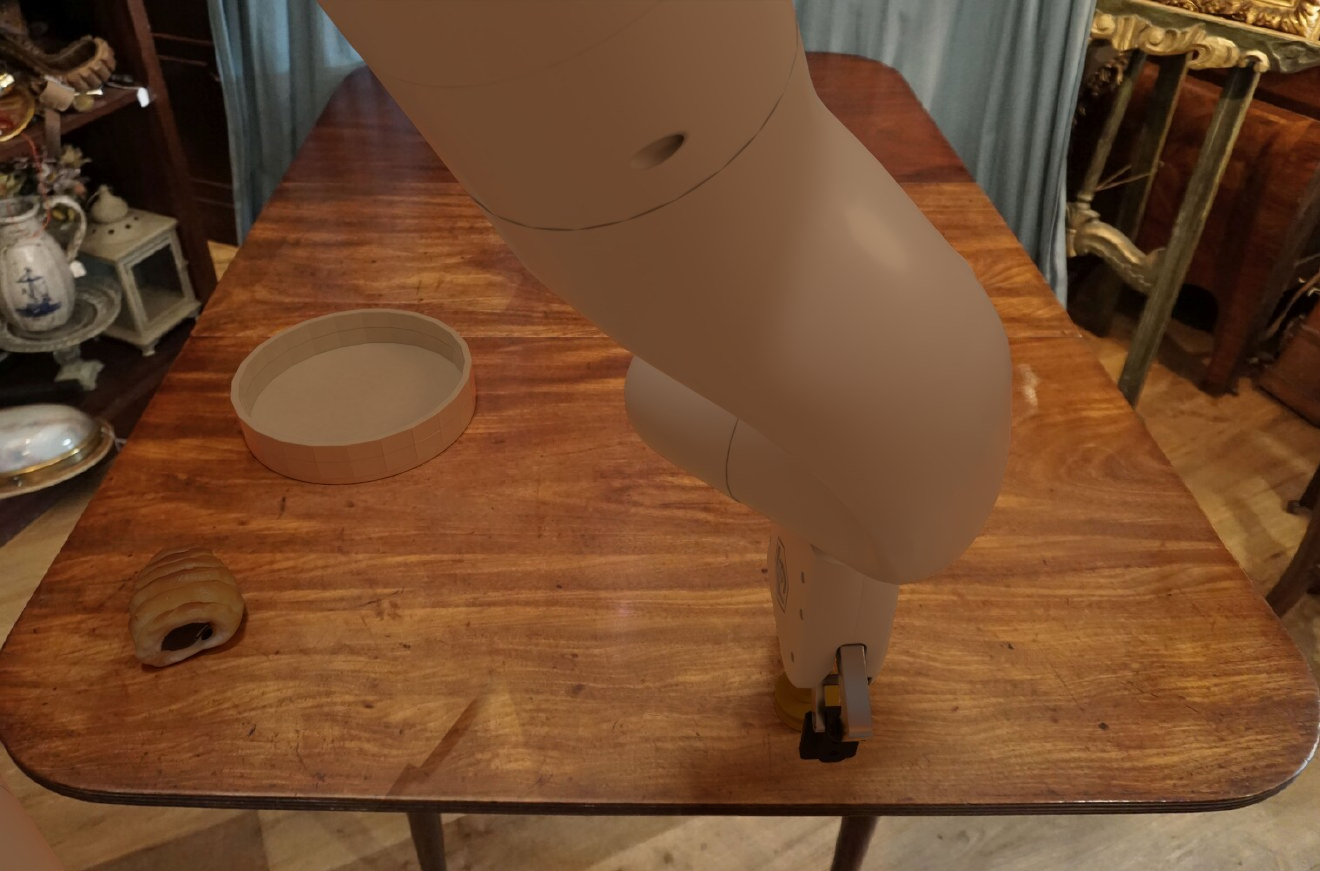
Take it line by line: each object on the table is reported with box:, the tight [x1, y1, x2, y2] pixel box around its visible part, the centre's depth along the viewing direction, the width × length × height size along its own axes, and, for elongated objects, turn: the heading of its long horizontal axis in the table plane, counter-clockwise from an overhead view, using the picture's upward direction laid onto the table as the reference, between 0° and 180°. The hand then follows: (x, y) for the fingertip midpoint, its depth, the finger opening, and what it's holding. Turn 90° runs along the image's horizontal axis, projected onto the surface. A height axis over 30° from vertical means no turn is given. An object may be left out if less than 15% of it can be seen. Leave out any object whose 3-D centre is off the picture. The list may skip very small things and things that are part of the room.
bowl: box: [230, 307, 477, 485], centre depth 79 cm, size 19×19×4 cm
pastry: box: [127, 542, 245, 668], centre depth 62 cm, size 9×7×4 cm
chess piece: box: [773, 670, 841, 732], centre depth 57 cm, size 4×4×5 cm
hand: (811, 682), depth 57 cm, fingers open, 9 cm apart
